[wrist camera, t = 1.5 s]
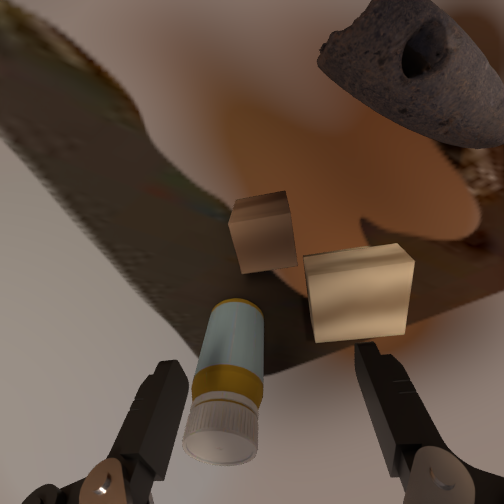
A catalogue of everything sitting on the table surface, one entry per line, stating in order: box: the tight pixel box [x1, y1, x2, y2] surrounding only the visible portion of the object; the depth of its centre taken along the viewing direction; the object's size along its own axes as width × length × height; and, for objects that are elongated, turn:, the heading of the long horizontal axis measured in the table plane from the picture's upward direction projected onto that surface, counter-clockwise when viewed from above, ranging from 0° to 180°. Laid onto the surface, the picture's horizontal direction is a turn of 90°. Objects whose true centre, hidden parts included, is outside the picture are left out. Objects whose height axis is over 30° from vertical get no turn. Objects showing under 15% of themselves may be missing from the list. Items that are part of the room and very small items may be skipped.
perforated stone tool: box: [317, 0, 504, 149], centre depth 17 cm, size 15×5×7 cm, turn 61°
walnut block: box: [228, 191, 298, 274], centre depth 23 cm, size 5×5×6 cm
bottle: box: [182, 298, 264, 466], centre depth 26 cm, size 7×7×15 cm
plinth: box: [303, 243, 415, 343], centre depth 28 cm, size 10×10×4 cm
